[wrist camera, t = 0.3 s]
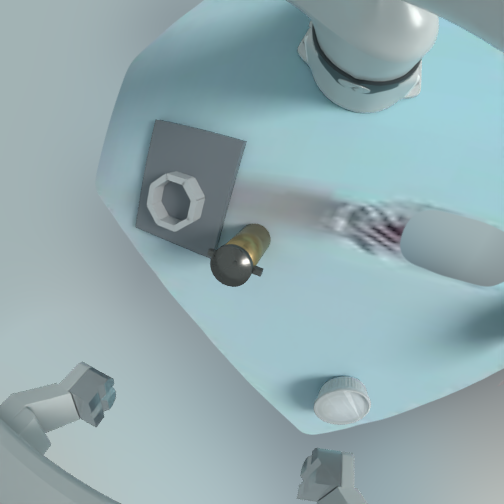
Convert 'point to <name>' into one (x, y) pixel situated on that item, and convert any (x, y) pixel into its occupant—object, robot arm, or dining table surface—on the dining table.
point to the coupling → (240, 256)
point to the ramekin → (342, 401)
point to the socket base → (199, 164)
